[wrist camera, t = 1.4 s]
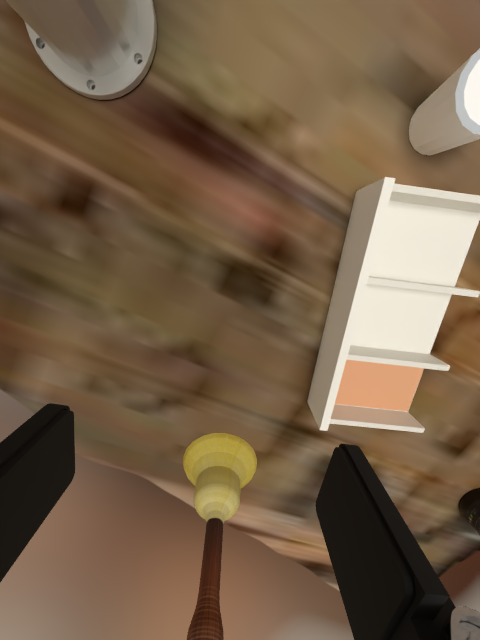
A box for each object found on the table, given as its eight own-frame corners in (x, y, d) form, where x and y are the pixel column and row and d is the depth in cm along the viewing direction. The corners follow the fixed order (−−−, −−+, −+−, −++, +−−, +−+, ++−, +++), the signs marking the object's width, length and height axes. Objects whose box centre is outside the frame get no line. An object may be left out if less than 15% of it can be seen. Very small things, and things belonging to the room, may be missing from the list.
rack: (356, 190, 29) (385, 176, 23) (476, 207, 30) (533, 198, 24) (307, 401, 37) (319, 429, 32) (402, 411, 38) (431, 441, 32)
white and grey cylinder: (428, 175, 29) (486, 153, 22) (390, 131, 27) (439, 93, 21) (477, 122, 27) (556, 81, 21) (440, 72, 26) (510, 11, 19)
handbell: (259, 488, 42) (288, 805, 18) (189, 494, 42) (125, 814, 19) (254, 429, 39) (279, 725, 15) (176, 436, 39) (78, 737, 15)
